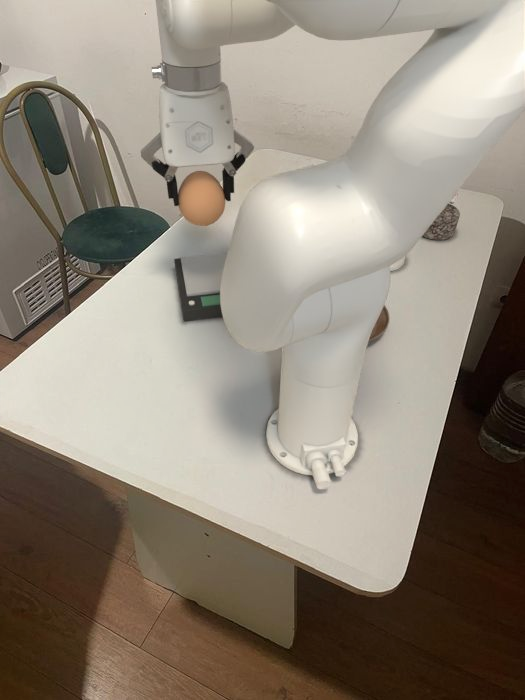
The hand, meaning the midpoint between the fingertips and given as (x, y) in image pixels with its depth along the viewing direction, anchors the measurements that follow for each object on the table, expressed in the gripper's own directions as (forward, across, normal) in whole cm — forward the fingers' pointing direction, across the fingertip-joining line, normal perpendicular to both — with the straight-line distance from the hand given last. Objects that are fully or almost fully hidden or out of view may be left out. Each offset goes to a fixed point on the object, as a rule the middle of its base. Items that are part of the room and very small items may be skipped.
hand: (201, 198), depth 80 cm
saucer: (+20, +22, -12) cm, 32 cm away
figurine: (+20, +52, +15) cm, 57 cm away
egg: (+4, 0, 0) cm, 4 cm away
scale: (+20, +2, +3) cm, 20 cm away
